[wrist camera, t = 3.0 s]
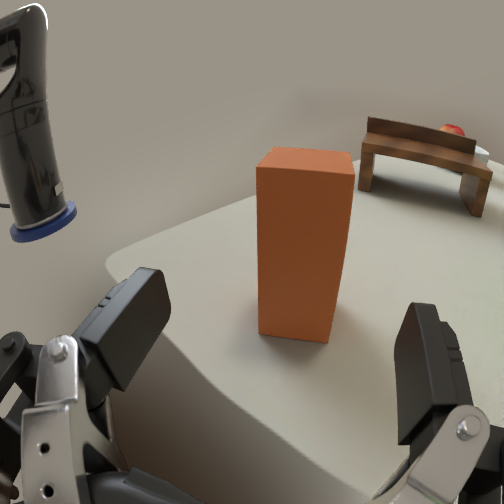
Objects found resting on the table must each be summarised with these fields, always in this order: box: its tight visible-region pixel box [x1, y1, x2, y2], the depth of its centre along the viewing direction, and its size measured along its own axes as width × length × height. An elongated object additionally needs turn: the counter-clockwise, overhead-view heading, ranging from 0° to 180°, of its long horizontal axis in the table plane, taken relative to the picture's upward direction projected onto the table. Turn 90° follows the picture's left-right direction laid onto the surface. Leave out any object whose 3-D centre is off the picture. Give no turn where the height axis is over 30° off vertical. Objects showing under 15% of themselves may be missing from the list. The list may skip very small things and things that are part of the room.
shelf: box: [358, 116, 493, 217], centre depth 44 cm, size 22×14×11 cm, turn 66°
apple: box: [440, 124, 465, 136], centre depth 76 cm, size 10×10×10 cm
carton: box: [256, 147, 355, 343], centre depth 20 cm, size 5×5×12 cm
